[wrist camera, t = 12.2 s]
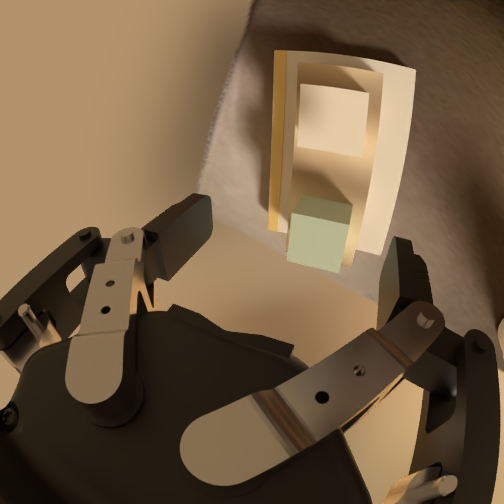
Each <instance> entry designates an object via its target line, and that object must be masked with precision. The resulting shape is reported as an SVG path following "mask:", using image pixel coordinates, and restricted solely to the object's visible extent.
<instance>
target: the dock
mask: <svg viewBox="0 0 504 504" xmlns="http://www.w3.org/2000/svg"><path fill="white" fill-rule="evenodd" d="M298 62H304V63H317V64H327V65H336V66H344V67H351V68H357V69H363V70H369V71H374V72H379V73H384V75H383V90H382V101H381V112H380V121H379V129H378V137H377V144H376V151H375V158H374V164H373V170H372V176H371V181H370V187H369V192H368V197H367V202H366V207H365V212H364V216H363V221H362V225H361V230H360V234H359V238H358V242H357V246H356V249H357V250H361V251H365V252H369V253H373V254H377V255H381V252H382V249H383V246H384V242H385V239H386V236H387V232H388V229H389V225H390V221H391V218H392V214H393V210H394V206H395V202H396V198H397V194H398V189H399V185H400V180H401V175H402V171H403V166H404V160H405V155H406V149H407V143H408V137H409V131H410V124H411V116H412V108H413V98H414V87H415V73H416V70H415V69H411V68H407V67H404V66H400V65H395V64H391V63H387V62H382V61H377V60H372V59H366V58H360V57H354V56H347V55H340V54H331V53H321V52H308V51H287V50H274V82H273V114H272V141H271V165H270V188H269V209H268V230H272V231H276V232H277V231H279V232H283V233H287V230H288V219H289V207H290V195H291V182H292V168H293V153H294V137H295V119H296V98H297V72H298Z"/></svg>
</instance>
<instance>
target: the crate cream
mask: <svg viewBox="0 0 504 504" xmlns="http://www.w3.org/2000/svg"><path fill="white" fill-rule="evenodd" d="M368 102H369V93H366V92H360V91H355V90H348V89H342V88H335V87H327V86H318V85H308V84H300V106H299V125H298V142H297V147H303V148H310V149H316V150H322V151H328V152H334V153H339V154H345V155H350V156H355V157H360V158H362V154H363V147H364V139H365V131H366V122H367V113H368Z"/></svg>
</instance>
